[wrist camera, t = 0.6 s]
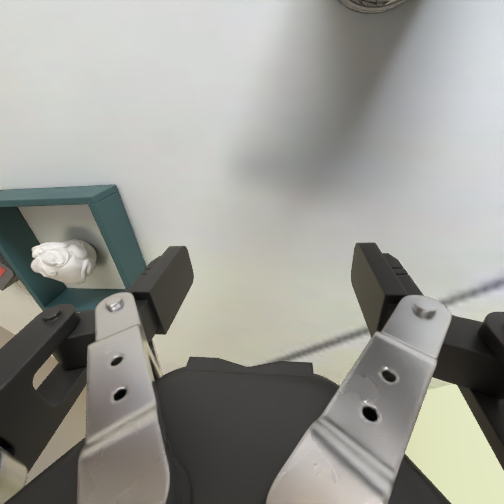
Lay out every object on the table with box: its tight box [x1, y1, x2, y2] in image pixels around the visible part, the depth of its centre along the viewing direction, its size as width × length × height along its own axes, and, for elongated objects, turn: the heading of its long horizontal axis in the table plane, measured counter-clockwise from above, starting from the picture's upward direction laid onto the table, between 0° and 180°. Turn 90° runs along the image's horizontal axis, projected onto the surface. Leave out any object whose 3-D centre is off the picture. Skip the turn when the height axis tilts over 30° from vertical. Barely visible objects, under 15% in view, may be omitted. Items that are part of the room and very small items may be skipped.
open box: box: [0, 185, 146, 312], centre depth 34 cm, size 18×17×4 cm
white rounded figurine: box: [31, 240, 97, 284], centre depth 33 cm, size 6×7×7 cm
